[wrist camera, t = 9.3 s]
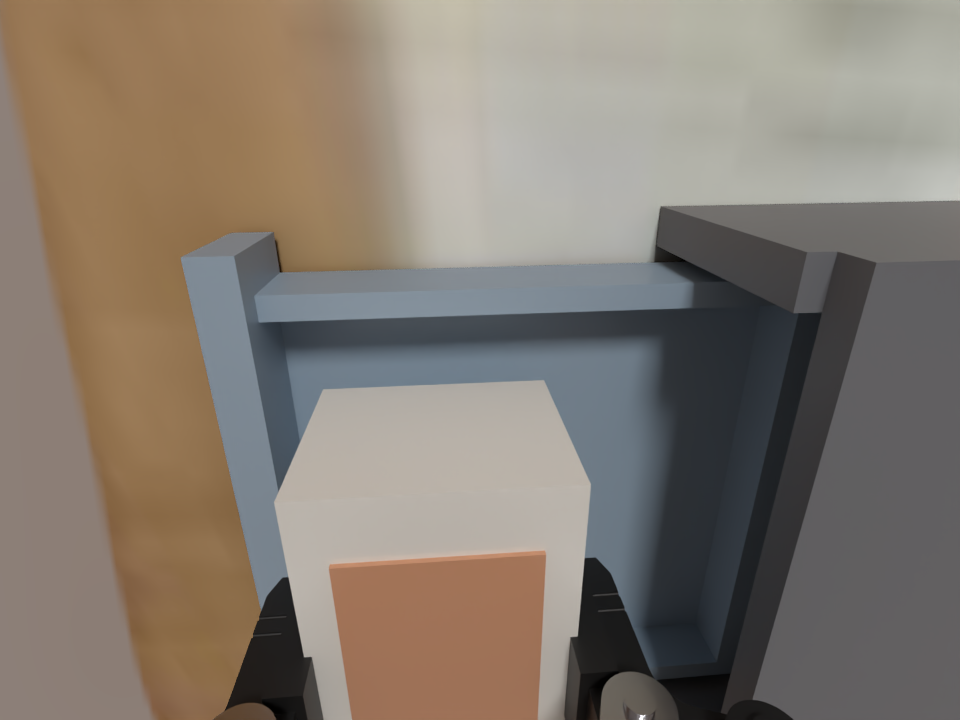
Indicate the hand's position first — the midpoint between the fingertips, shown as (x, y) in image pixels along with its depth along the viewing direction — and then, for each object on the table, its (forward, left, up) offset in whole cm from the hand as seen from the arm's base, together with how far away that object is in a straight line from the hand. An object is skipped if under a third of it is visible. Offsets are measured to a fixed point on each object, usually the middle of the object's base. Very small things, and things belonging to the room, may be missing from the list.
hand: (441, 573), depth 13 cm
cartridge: (0, 0, -1) cm, 1 cm away
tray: (-2, 0, -4) cm, 4 cm away
